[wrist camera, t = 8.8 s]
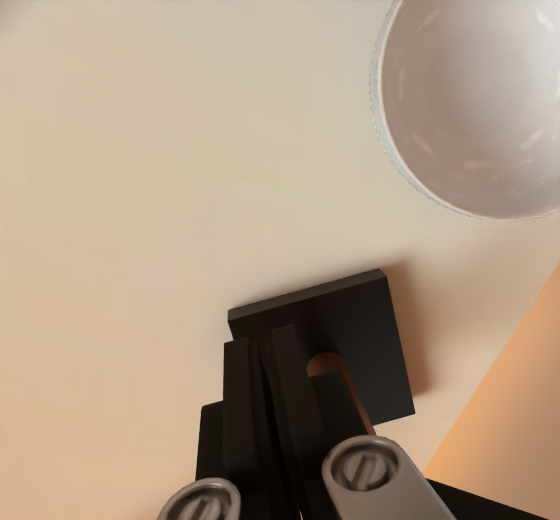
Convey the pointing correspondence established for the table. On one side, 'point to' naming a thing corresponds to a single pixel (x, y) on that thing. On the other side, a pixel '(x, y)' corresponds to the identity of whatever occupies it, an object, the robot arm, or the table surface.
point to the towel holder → (341, 339)
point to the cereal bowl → (472, 103)
